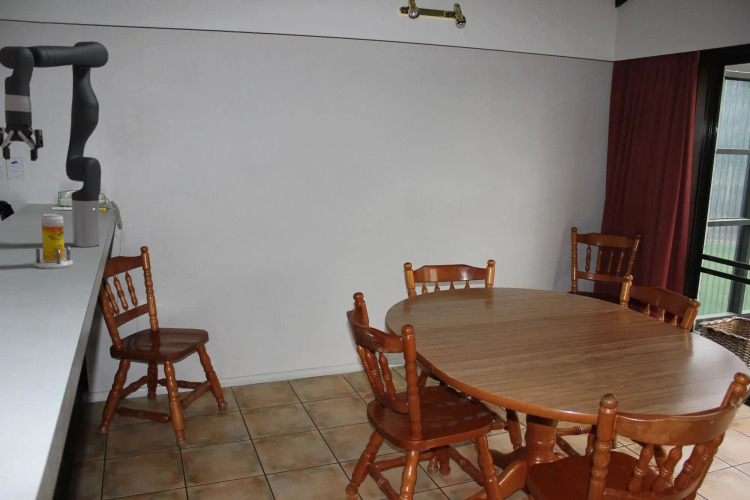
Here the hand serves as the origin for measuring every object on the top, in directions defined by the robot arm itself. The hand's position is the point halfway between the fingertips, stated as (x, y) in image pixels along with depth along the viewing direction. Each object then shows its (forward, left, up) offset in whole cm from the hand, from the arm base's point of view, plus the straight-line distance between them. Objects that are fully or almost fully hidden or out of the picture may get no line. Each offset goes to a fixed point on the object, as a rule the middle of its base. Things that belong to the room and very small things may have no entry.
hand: (20, 160), depth 197 cm
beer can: (+12, +16, -31) cm, 37 cm away
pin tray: (+12, +16, -32) cm, 38 cm away
